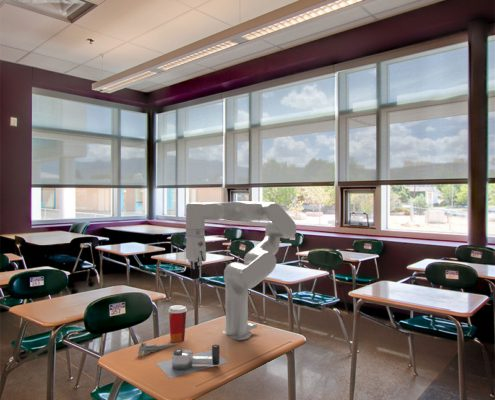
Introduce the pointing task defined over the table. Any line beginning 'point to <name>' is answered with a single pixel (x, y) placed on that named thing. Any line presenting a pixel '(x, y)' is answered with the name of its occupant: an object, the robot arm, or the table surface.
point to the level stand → (171, 372)
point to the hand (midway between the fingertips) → (194, 278)
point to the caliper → (152, 348)
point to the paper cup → (177, 323)
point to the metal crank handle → (194, 358)
